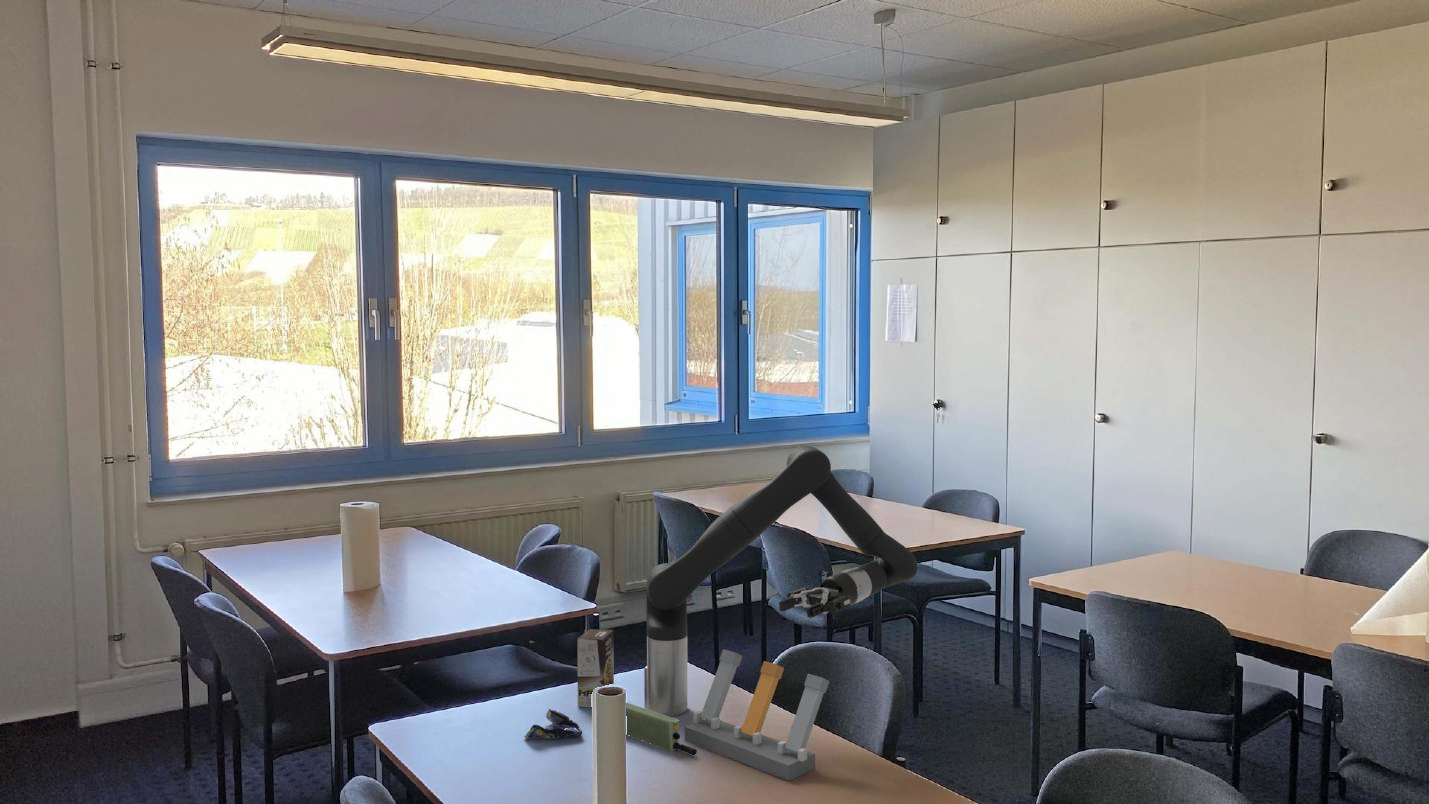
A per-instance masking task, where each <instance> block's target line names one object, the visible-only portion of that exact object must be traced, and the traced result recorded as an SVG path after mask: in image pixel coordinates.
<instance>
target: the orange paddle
mask: <svg viewBox="0 0 1429 804" xmlns="http://www.w3.org/2000/svg"><path fill="white" fill-rule="evenodd" d="M784 670H785V667H783V666H781V665H779V664H776V663H773V662H769V661H765V660H763V662H762V665H761V668H760V671H759V672H760V673H761V674H760V676H759V679H758V682H757V684H756V688H755V689H754V693H753V696H752V699H751V702H750V704H749V707H748V710H747V713H746V716H745V718H744V721H743V723H742V724H743V725H742V726H743V727H742V730H741V732H743V733H745V734H747V735H750V736H753V734H754V733H756V732H760V733H762V732H761V731H762V729H763V726H764V722H765V720H766V718H767V714H768V711H769V710H770V709H769V708H770V705H771V703H772V699H773V697H774V694H775V691H776V689H777V686H778V682H779V680H781V679H782V676H783V674H784V673H783V672H784Z"/></svg>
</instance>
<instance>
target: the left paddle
mask: <svg viewBox="0 0 1429 804" xmlns="http://www.w3.org/2000/svg"><path fill="white" fill-rule="evenodd" d="M742 659H743V655H741V654H739V653H737V652H735V651H731V650H728V649H724V648H723V650H722V651H721V655H720V657H719V661H720V662H719V664H718V667H717V670H716V673H715V675H714V678H713V681H712V684H711V687H710V689H709V692H708V694H707V697H706V700H705V703H704V704H703V708H702V710H701V712H702V713H701V716H700V717H701V718H702V720H705V719H706V720H709V721H711V719H712V718H715V717H717V718H720V714H721V712H722V709H723V706H724V704H725V701H726V699H727V696H728V692H729V691H730V687H731V685H732V682H733V679H734V677H735V673H736V672H737V668H738V667H740V665H741V662H742Z"/></svg>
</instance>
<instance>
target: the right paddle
mask: <svg viewBox="0 0 1429 804" xmlns="http://www.w3.org/2000/svg"><path fill="white" fill-rule="evenodd" d="M805 678H806V679H805V681H804V684H803V685H804V690H803V692H802V696H801V699H800V701H799V705H798V707H797V710H796V713H795V716H794V719H793V721H792V724H791V728H790V731H789V733H788V737H787V740H786V741H785V742H786V745H785V748H787V749H789V750H792V751H795V752H797V753H798V750H799V749H802V748H805V749H807V748H806V747H807V744H808V741H809V738H810V735H811V732H812V730H813V726H814V724H815V720H816V718H817V715H818V712H819V708H820V706H821V702H822V699H823V697H824V694H826V692H827V689H828V687H829V683H830V680H828V679H826V678H824V677H821V676H818V675H816V674H810V673H807V675H806V677H805Z"/></svg>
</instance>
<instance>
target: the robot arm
mask: <svg viewBox="0 0 1429 804" xmlns="http://www.w3.org/2000/svg"><path fill="white" fill-rule="evenodd" d="M831 469H832V465H831V461H830V458H829V457H828V456H827V454H825V453H824V452H823V451H821V450H819V449H818V448H817V447H813V446H810V445H802V446H798V447H796V448H794V449H793V450H792V451H791V452H790V453H789V455H788V457H787V459H786V467H785V468H784V469H783V470H782V471H781V472H780V473H779V474H778V475H777V476H776V477H774V478H773V479H772V480H770V482H769V483H767V484H766V485H764V486H763V487H761V488H759V489H758V490H756V491H753V492H752V493H750V494H749V495H746V496H745V497H743V498H741V499H740V500H738V501H737V502H735V503H734V504H732V505H731V506H730V507H729V508H728V509H727V510H725V511H723V513H722V514H720V515H719V516H718V517H717V518H716V519H715V520H714V521H713V522H712V523H711V524H710V525H709V526H708V528H706V529H705V531H704V532H703V533H702V535H701V536H700V538H698V540H697V541H696V542H695V544H693V546H692V547H691V548H690V549H689V550H687V552H686V553H684V554H683V555H681V557H680V558H678V559H677V560H675V561H674V562H673V563H669V562H668V563H667V562H665V563H660V564H658V565H656V566H655V567H652V569H651V570H650V572H649V574H648V575H647V578H646V587H645V588H646V591H645V595H646V599H645V600H646V652H647V653H646V666H644V669H643V670H644V673H643V675H644V677H643V679H644V681H643V682H644V690H643V691H644V695H643V696H644V708H645V709H648V710H651V711H654V712H657V713H660V714H663V715H666V716H669V717H673V716H678V715H682V714H684V713H686V712H687V711H688V709H689V708H688V613H687V612H688V610H687V609H688V607H687V606H688V605H687V600H688V598H689V597H690V596H691V595H692V593H694V592H695V590H696V589H698V587H699V586H701V584H702V583H703V582H704V581H706V579H707V578H709V577H710V576H711V575H712V574H713V573H714V572H715V571H717V570H719V569H720V568H722V567H723V566H724V565H725V564H727V563H728V562H729V561H731V560H732V559H733V558H735V557H736V556H737V555H738V554H739V553H740V552H742V551H744V550H745V549H746V548H747V547H748V546H750V545H751V544H752V543H753V542H754V541H755V540H756V539H758V538H759V537H761V535H762V534H763V533H764V532H766V531H767V529H769V528H770V527H771V526H772V525H773V524H774V523H776V522H777V521H778V519H780V518H781V517H782V516H783V515H784V514H785V513H786V512H787V511H788V510H789V509H790V508H791V507H793V506H794V505H796V504H797V503H798V502H800V501H801V500H803V499H804V498H806V497H807V496H808V495H810V494H811V495H812V496H814V498H815V499H816V500H818V502H819V503H820V504H821V505H822V506H823V507H824V509H826V511H827V512H828V513H829V515H831V517H832V518H833V519H834V520H835V522H836V523H837V525H838V526H839V527H840V529H841V530H842V531H843V532H844V533H845V535H847V537H848V538H849V539H850V541H852V543H853V544H854V545H855V547H856V548H857V549H859V551H860V552H861V553H862V554H863V555H865V556H867V557H878V558H876V559H874V560H872V561H869V562H866V563H863V564H861V565H858V566H856V567H852V568H848V569H846V570H843V571H840V572H838V573H836V574H833V575H830V576H827V577H825V578H824V579H823V581H822V582H821V584H820V587H814V588H813V589H810V588H809V586H807V585H806V586H803V587H800V588H798V589H794V590H792V591H789V592H787V593H786V597H787V598H784V599H783V600H780V601H779V603H778V607H779V611H780V612H786V611H788V610H792V609H794V608H797V607H802V608H806V616H807V618H809V619H812V618H814V617H816V616H819V615H821V614H822V615H826V614H828V613H830V615H836V614H838V613H840V612H843V611H844V610H846V609H848V608H851V606H852V605H854V604H855V605H856V604H858V603H859V602H862V601H863V600H865V599H866V598H868V597H871V596H873V595H875V594H877V593H879V592H881V591H882V590H884V589H886V588H888V587H889V588H890V587H892V586H895V585H898V584H901V583H903V582H907V581H910V580H912V579H913V578H915V576H916V575H917V573H918V571H919V570H918V568H919V567H918V562H917V559H916V557H915V556H914V554H913V552H911V550H909V548H907V547H906V546H904V545H903V543H902V544H901V543H900V542H899V541H898V540H896V539H895V538H893V537H892V536H890V535H888V534H887V533H886V532H885V531H884V530H883V528H881V526H880V525H879V524H878V523H877V522H876V521H875V519H874V518H873V516H871V515H870V514H869V513H868V511H867V510H865V509H864V508H863V506H862V505H861V504H860V503H859V502H858V501H856V500H855V499H854V497H852V496H851V495H850V494H849V492H847V491H846V490H845V488H844V487H843V486H842V485H841V484H840V482H839V481H838V480H837V478H836V477H835V475H834V474H833V472H832V471H831ZM807 600H808V602H806V601H807Z"/></svg>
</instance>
